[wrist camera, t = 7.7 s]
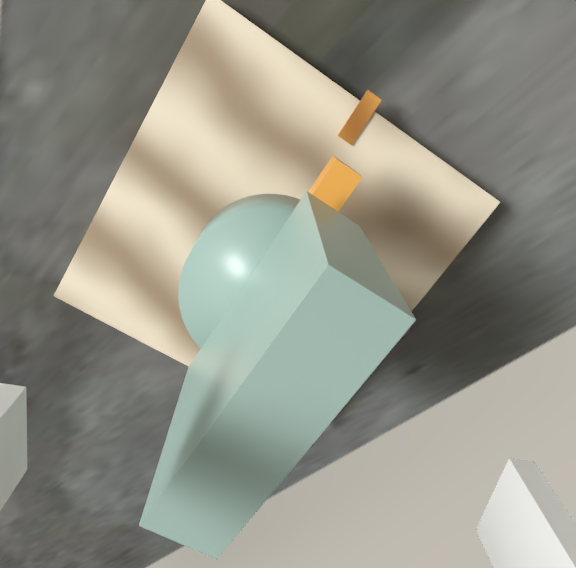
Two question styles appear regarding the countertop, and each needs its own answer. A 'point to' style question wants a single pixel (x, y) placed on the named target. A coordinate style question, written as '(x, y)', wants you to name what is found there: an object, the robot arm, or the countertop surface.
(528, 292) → the countertop surface
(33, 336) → the countertop surface
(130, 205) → the base
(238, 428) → the mint bar with ball
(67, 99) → the countertop surface
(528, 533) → the robot arm
